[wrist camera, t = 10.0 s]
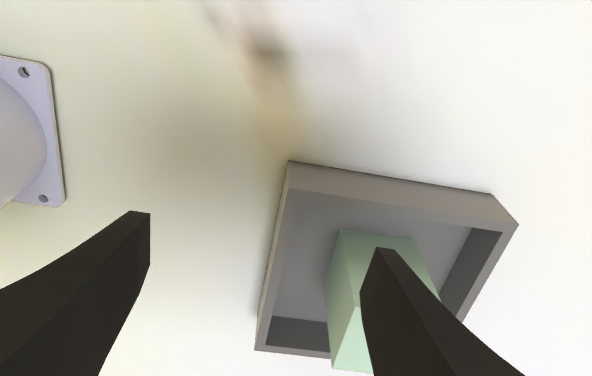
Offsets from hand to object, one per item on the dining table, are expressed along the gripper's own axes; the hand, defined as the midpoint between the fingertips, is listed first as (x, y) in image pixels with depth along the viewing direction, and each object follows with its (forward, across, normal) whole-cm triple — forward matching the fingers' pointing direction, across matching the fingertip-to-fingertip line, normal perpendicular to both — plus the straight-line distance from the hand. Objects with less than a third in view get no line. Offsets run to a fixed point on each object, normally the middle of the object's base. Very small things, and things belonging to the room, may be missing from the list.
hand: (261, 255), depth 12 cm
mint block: (+9, -7, +7) cm, 13 cm away
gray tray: (+9, -7, +7) cm, 14 cm away
